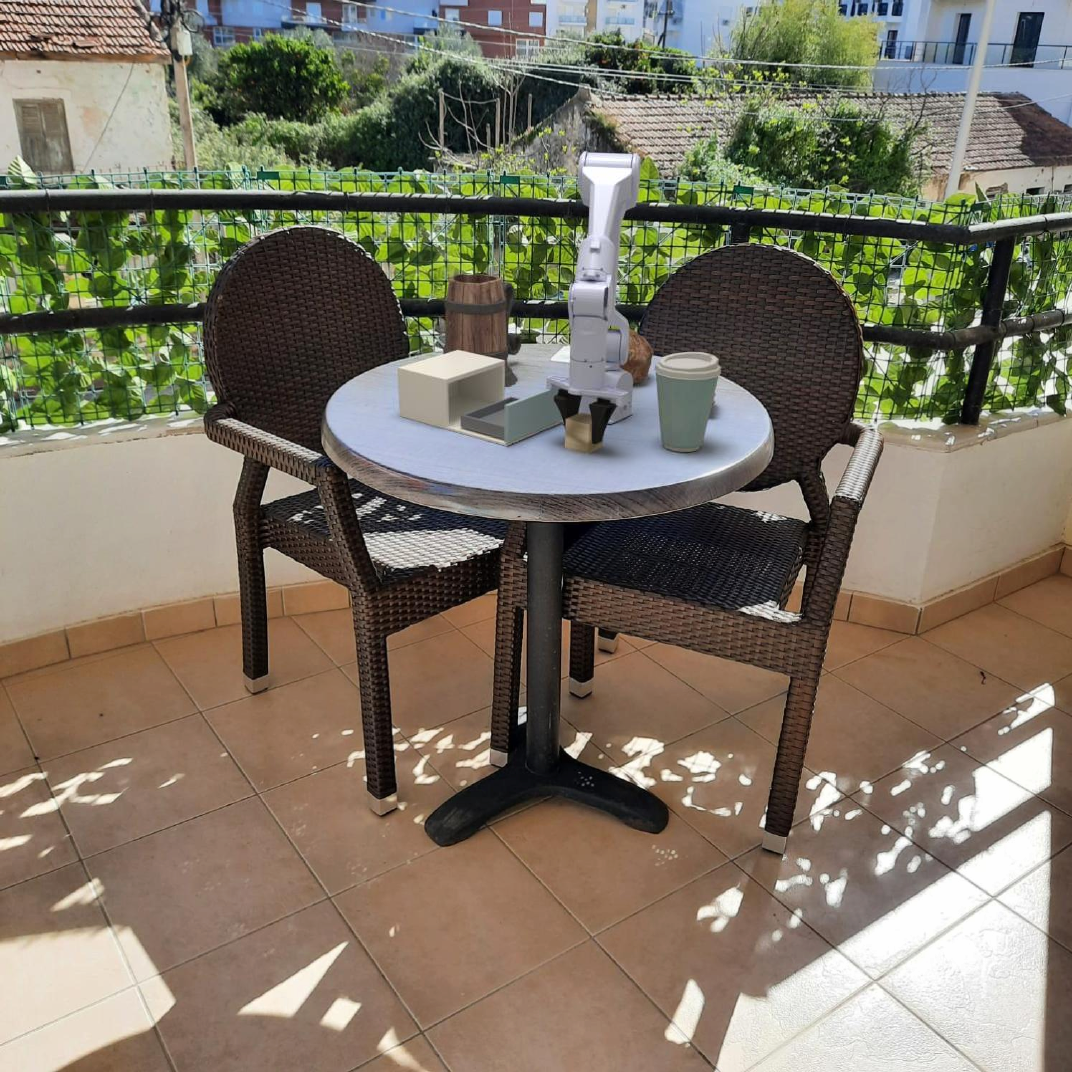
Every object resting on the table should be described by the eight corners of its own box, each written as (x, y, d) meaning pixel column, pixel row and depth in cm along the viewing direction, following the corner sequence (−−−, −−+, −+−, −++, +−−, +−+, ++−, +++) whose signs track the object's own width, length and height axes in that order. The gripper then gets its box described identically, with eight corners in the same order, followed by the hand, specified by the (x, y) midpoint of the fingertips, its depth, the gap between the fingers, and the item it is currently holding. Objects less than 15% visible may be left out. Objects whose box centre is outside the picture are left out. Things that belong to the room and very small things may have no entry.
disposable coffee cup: (669, 460, 155) (677, 369, 148) (636, 439, 164) (642, 351, 157) (725, 452, 159) (735, 362, 152) (690, 431, 167) (698, 346, 161)
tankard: (486, 396, 183) (486, 290, 175) (416, 381, 191) (413, 278, 183) (550, 369, 201) (553, 271, 193) (484, 356, 209) (484, 262, 201)
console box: (562, 422, 171) (563, 373, 167) (506, 446, 159) (506, 394, 155) (458, 395, 183) (457, 349, 180) (399, 416, 172) (397, 367, 168)
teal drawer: (564, 418, 170) (565, 384, 167) (508, 442, 158) (508, 405, 156) (514, 406, 176) (514, 372, 173) (456, 428, 164) (456, 392, 162)
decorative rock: (598, 369, 202) (601, 321, 198) (652, 372, 201) (656, 324, 197) (592, 387, 191) (595, 336, 186) (649, 390, 189) (653, 340, 185)
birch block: (602, 446, 160) (604, 417, 158) (587, 454, 157) (588, 424, 154) (580, 440, 162) (581, 412, 160) (564, 447, 159) (565, 418, 157)
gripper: (536, 354, 154) (534, 435, 160) (612, 371, 146) (608, 455, 152) (561, 346, 159) (558, 424, 165) (637, 361, 151) (631, 443, 157)
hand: (584, 438), depth 159 cm, fingers closed on birch block, 4 cm apart
